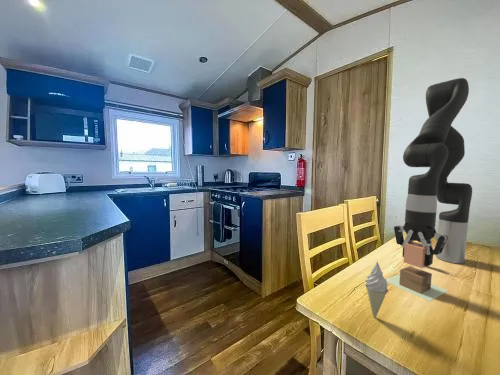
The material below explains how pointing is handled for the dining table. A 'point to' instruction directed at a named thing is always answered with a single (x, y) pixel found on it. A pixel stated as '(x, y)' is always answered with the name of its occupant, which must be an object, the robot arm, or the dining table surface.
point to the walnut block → (415, 279)
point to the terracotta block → (414, 254)
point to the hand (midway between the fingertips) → (416, 262)
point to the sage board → (427, 295)
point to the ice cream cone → (376, 288)
